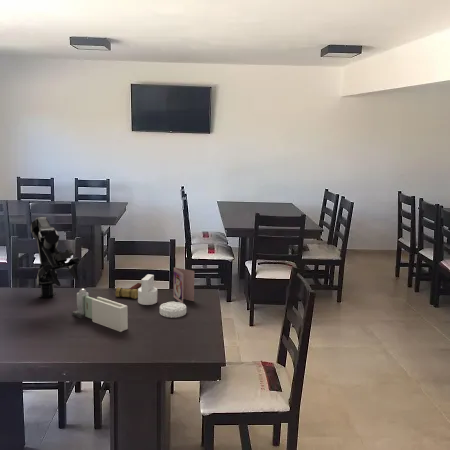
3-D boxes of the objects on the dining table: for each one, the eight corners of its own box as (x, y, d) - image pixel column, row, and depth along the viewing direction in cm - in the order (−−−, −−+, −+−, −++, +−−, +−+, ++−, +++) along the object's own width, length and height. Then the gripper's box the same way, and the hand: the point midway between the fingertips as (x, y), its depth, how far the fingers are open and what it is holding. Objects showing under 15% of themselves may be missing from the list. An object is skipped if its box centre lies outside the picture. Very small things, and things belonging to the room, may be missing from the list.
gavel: (132, 278, 262) (150, 280, 260) (131, 287, 263) (150, 288, 261) (115, 288, 242) (135, 290, 240) (115, 297, 242) (134, 300, 240)
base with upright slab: (153, 305, 233) (153, 281, 231) (135, 303, 235) (135, 279, 233) (159, 299, 242) (159, 275, 240) (142, 297, 244) (142, 273, 241)
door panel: (85, 316, 217) (84, 296, 216) (87, 315, 219) (87, 295, 217) (104, 323, 211) (103, 303, 209) (106, 322, 212) (106, 302, 210)
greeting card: (171, 297, 245) (172, 267, 242) (185, 295, 249) (186, 265, 246) (181, 304, 236) (181, 274, 232) (195, 302, 239) (196, 272, 236)
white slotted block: (92, 321, 213) (91, 299, 211) (99, 318, 216) (98, 296, 214) (120, 331, 204) (120, 308, 202) (127, 328, 207) (127, 305, 205)
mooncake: (190, 310, 230) (190, 303, 229) (179, 319, 219) (179, 312, 218) (166, 306, 234) (166, 299, 233) (154, 315, 223) (154, 307, 222)
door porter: (72, 315, 219) (71, 288, 217) (81, 311, 223) (81, 285, 221) (81, 318, 216) (80, 291, 214) (90, 314, 220) (89, 288, 218)
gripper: (41, 248, 212) (58, 279, 209) (77, 239, 227) (94, 268, 223) (31, 261, 219) (47, 292, 215) (67, 253, 233) (83, 281, 230)
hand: (68, 283), depth 221 cm, fingers open, 9 cm apart
